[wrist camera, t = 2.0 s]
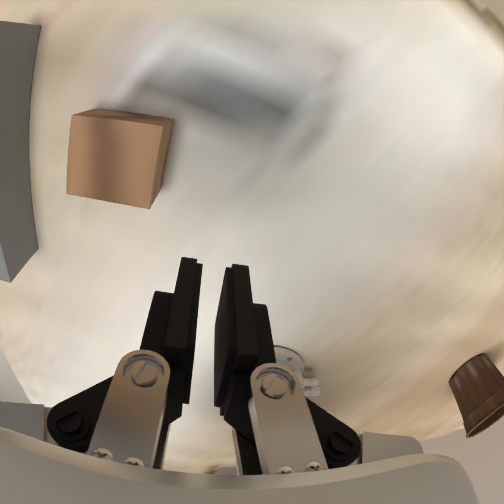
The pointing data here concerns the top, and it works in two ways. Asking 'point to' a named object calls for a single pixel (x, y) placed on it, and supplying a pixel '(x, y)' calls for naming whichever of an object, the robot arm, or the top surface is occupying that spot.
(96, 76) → the top surface
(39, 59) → the top surface
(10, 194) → the board
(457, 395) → the plant pot
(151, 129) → the walnut block
